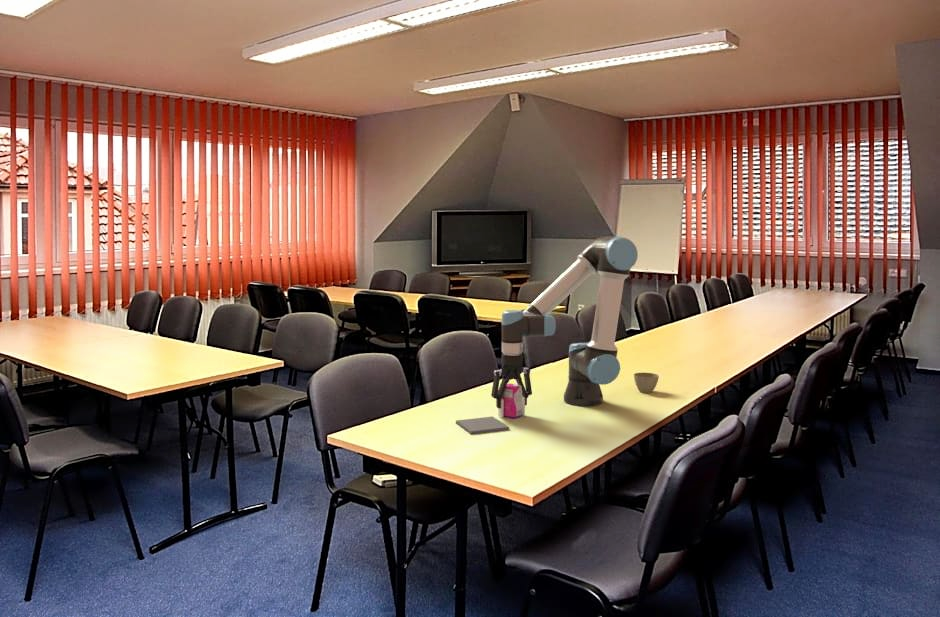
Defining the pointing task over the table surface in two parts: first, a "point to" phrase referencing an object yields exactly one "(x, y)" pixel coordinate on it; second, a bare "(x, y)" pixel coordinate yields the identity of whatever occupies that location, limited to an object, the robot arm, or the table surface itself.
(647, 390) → the flower pot
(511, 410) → the supplement box
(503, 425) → the gray mat
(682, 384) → the table surface
